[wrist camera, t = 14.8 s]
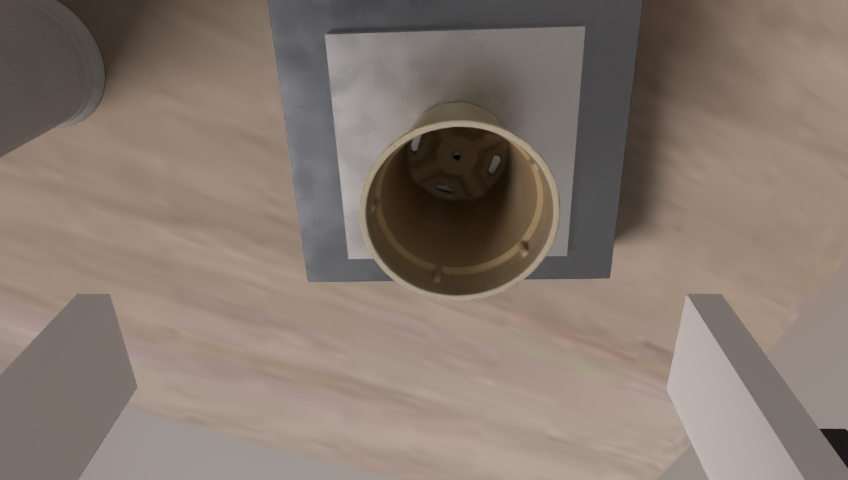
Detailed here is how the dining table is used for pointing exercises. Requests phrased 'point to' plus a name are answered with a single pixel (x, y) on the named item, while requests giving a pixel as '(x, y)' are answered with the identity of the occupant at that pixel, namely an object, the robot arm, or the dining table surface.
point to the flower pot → (459, 206)
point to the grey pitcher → (45, 70)
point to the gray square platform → (455, 83)
